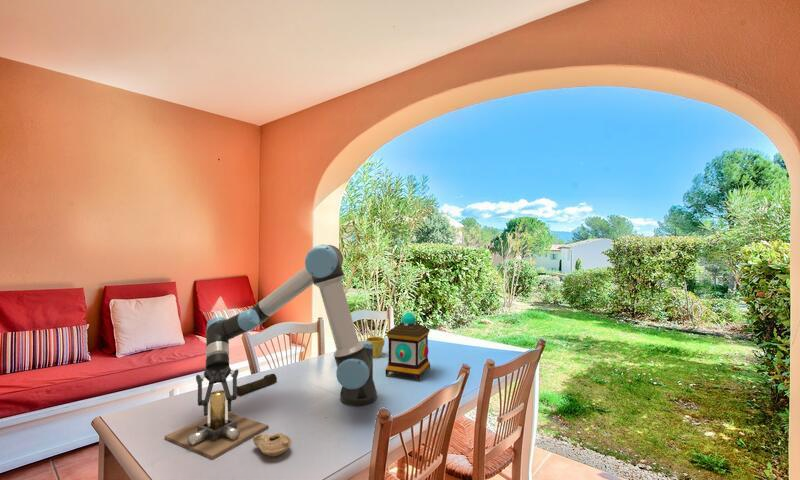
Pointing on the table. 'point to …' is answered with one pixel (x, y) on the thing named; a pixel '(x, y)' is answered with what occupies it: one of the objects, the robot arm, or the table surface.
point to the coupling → (217, 409)
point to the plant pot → (376, 345)
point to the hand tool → (257, 384)
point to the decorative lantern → (408, 347)
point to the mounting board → (221, 445)
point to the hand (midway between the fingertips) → (217, 423)
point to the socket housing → (214, 432)
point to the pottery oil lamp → (272, 443)
